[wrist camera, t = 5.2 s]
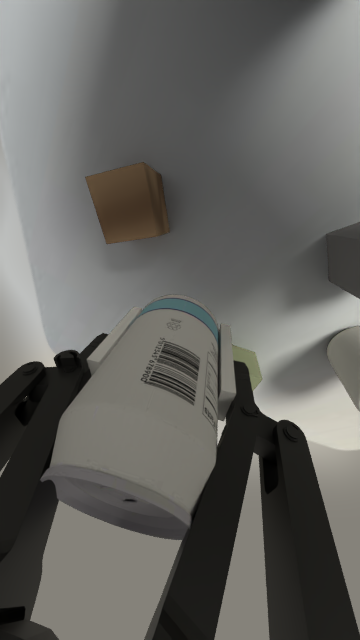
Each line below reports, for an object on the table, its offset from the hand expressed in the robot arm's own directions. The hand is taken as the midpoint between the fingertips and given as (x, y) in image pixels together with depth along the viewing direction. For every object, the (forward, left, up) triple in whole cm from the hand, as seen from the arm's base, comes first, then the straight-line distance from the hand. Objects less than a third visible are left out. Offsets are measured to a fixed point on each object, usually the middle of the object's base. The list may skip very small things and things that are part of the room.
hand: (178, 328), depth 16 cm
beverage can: (0, 0, -1) cm, 1 cm away
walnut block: (-8, -6, -9) cm, 14 cm away
